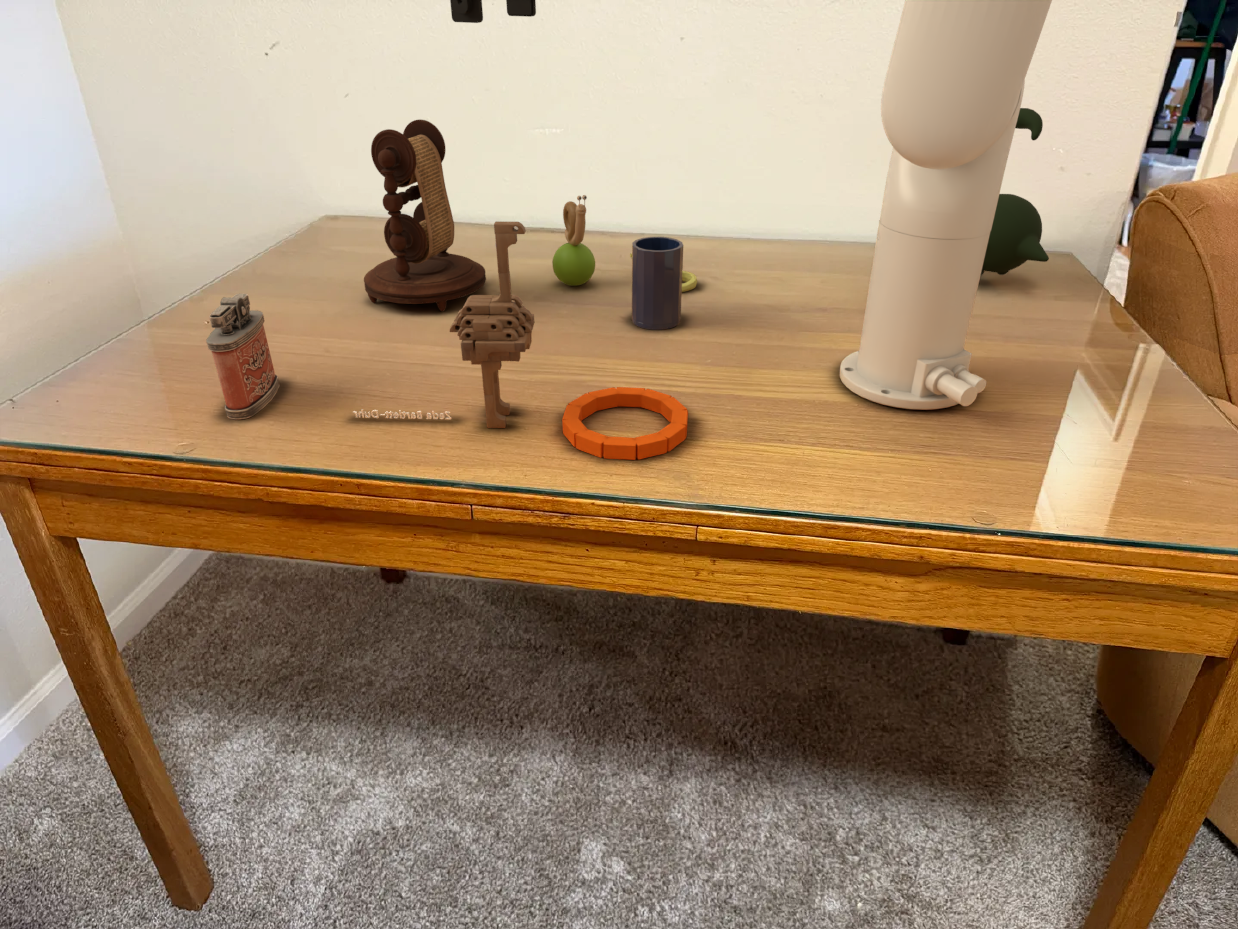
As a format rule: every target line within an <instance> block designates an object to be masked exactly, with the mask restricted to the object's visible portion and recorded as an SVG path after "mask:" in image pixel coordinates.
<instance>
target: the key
mask: <svg viewBox="0 0 1238 929" xmlns="http://www.w3.org/2000/svg"><path fill="white" fill-rule="evenodd" d="M629 257H630V258H632V253H630V254H629ZM697 284H698V278H697V276H696V275H695V274H694V273H693V272H690V271H686V270H682V293H684V292H689V291H692V290H694V289H695V288H696V287H697Z"/></svg>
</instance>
